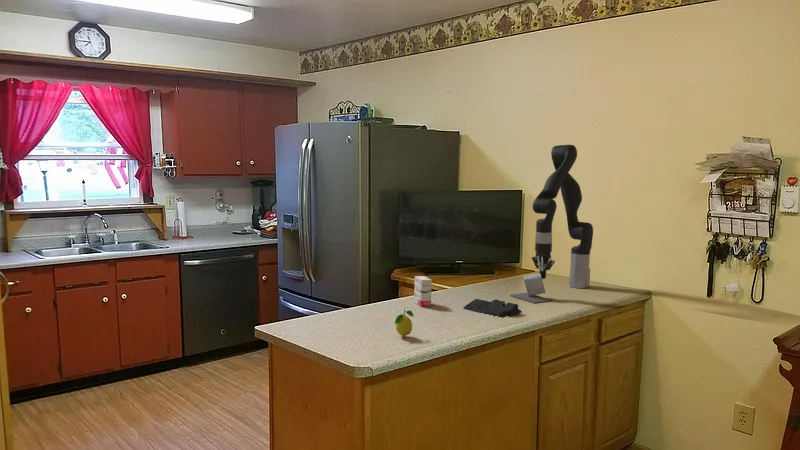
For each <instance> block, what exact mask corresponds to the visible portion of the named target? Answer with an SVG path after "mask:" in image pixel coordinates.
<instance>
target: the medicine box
mask: <svg viewBox="0 0 800 450" xmlns="http://www.w3.org/2000/svg"><path fill="white" fill-rule="evenodd" d="M523 281H524V285H525V289H526V293H528V296H533V295H537V296H538V295H542V294H546V289H545V284H544V281H543V279H542V277H541V273H540V272H538V273H533V274H529V275H525V276H523Z"/></svg>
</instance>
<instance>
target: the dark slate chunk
mask: <svg viewBox="0 0 800 450" xmlns="http://www.w3.org/2000/svg"><path fill="white" fill-rule="evenodd" d="M462 309H463V310H467V311H471V312H475V313H478V314H482V313H484V314H483V315H486V314H489V315H488V316H490V315H493V316H492V317H495V316H498V317H497V318H499V317H502V318H503V317H506V316H510V317H514V316H513V315H515V316H517V315H519V314H520V313H521V312H522V310H521V309H519V304H517V303H513V302H507V303H506V302H505V301H504V300H499V299H497V298H496V299H493V300H491V301H490V300H489V301H488V300H484V299H480V298H475V299H473V300H472V301H470V302H469V303H467V304H466V305H464V306H463V308H462ZM518 313H519V314H518ZM516 314H517V315H516Z"/></svg>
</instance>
